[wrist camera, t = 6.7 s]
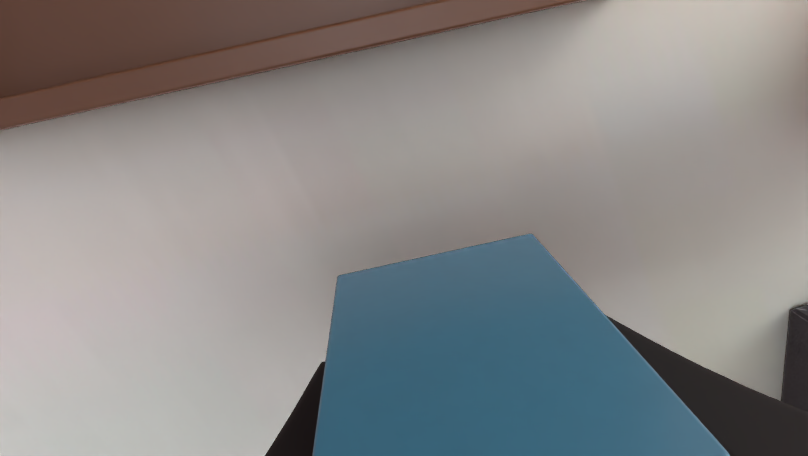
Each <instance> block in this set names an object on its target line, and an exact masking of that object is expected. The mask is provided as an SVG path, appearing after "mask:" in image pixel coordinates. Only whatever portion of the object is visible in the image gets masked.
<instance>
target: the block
mask: <svg viewBox="0 0 808 456" xmlns="http://www.w3.org/2000/svg"><path fill="white" fill-rule="evenodd" d="M312 456H730V455H729V453H728V452H727V451H726V449H725V448H724V447H723V446H722V445H721V444H720V443H719V442H718V441H717V439H716V438H715V437H714V436H713V435H712V434H711V433H710V432H709V430H708V429H707V428H706V427H705V426H704V425H703V424H702V423H701V422H700V420H699V419H698V418H697V417H696V416H695V415H694V414H693V413H692V412H691V410H690V409H689V408H688V407H687V406H686V405H685V404H684V403H683V401H682V400H681V399H680V398H679V397H678V396H677V395H676V394H675V393H674V391H673V390H672V389H671V388H670V387H669V386H668V385H667V384H666V383H665V381H664V380H663V379H662V378H661V377H660V376H659V375H658V374H657V372H656V371H655V370H654V369H653V368H652V367H651V366H650V365H649V364H648V362H647V361H646V360H645V359H644V358H643V357H642V356H641V355H640V354H639V352H638V351H637V350H636V349H635V348H634V347H633V346H632V345H631V343H630V342H629V341H628V340H627V339H626V338H625V337H624V336H623V335H622V333H621V332H620V331H619V330H618V329H617V328H616V327H615V326H614V324H613V323H612V322H611V321H610V320H609V319H608V318H607V317H606V316H605V314H604V313H603V312H602V311H601V310H600V309H599V308H598V307H597V306H596V304H595V303H594V302H593V301H592V300H591V299H590V298H589V297H588V295H587V294H586V293H585V292H584V291H583V290H582V289H581V288H580V287H579V285H578V284H577V283H576V282H575V281H574V280H573V279H572V278H571V277H570V275H569V274H568V273H567V272H566V271H565V270H564V269H563V268H562V266H561V265H560V264H559V263H558V262H557V261H556V260H555V259H554V258H553V256H552V255H551V254H550V253H549V252H548V251H547V250H546V249H545V248H544V246H543V245H542V244H541V243H540V242H539V241H538V240H537V239H536V237H535V236H534V235H533V234H526V235H522V236H517V237H512V238H508V239H503V240H499V241H494V242H490V243H485V244H480V245H476V246H471V247H467V248H462V249H458V250H453V251H448V252H444V253H439V254H435V255H430V256H425V257H421V258H416V259H412V260H407V261H403V262H398V263H393V264H389V265H384V266H380V267H375V268H371V269H366V270H361V271H357V272H352V273H348V274H343V275H339V276H338V277H337V284H336V291H335V298H334V305H333V312H332V319H331V326H330V333H329V341H328V348H327V355H326V362H325V369H324V376H323V383H322V390H321V397H320V405H319V412H318V419H317V426H316V433H315V440H314V447H313V454H312Z"/></svg>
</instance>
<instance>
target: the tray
mask: <svg viewBox="0 0 808 456" xmlns="http://www.w3.org/2000/svg"><path fill="white" fill-rule="evenodd" d="M580 1H585V0H0V130H4V129H9V128H13V127H18V126H22V125H27V124H31V123H36V122H40V121H45V120H49V119H54V118H58V117H63V116H67V115H72V114H76V113H81V112H85V111H90V110H94V109H99V108H103V107H108V106H112V105H117V104H121V103H126V102H130V101H135V100H139V99H144V98H148V97H153V96H157V95H162V94H166V93H171V92H175V91H180V90H184V89H189V88H193V87H198V86H202V85H207V84H211V83H216V82H220V81H225V80H229V79H234V78H238V77H243V76H247V75H252V74H256V73H261V72H265V71H270V70H274V69H279V68H283V67H288V66H292V65H297V64H301V63H306V62H310V61H315V60H319V59H324V58H328V57H333V56H337V55H342V54H346V53H351V52H355V51H360V50H364V49H369V48H373V47H378V46H382V45H387V44H391V43H396V42H400V41H405V40H409V39H414V38H418V37H423V36H427V35H432V34H436V33H441V32H445V31H450V30H454V29H459V28H463V27H468V26H472V25H477V24H481V23H486V22H490V21H495V20H499V19H504V18H508V17H513V16H517V15H522V14H526V13H531V12H535V11H540V10H544V9H549V8H553V7H558V6H562V5H567V4H571V3H576V2H580Z"/></svg>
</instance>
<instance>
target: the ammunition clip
mask: <svg viewBox="0 0 808 456" xmlns="http://www.w3.org/2000/svg"><path fill="white" fill-rule="evenodd" d="M781 401H782V402H784V403H787V404H789V405H792V406H794V407H797V408H799V409H802V410H804V411H807V412H808V305H806V306H802V307H798V308H795V309H792V310H790V317H789V328H788V338H787V348H786V359H785V369H784V380H783V390H782V400H781Z"/></svg>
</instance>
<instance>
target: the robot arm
mask: <svg viewBox="0 0 808 456" xmlns="http://www.w3.org/2000/svg"><path fill="white" fill-rule="evenodd" d="M605 316H606V315H605ZM606 317H607V318H608V319H609V320H610V321H611V322H612V323H613V324H614V326H615V327H616V328H617V329H618V330H619V331H620V332H621V333H622V335H623V336H624V337H625V338H626V339H627V340H628V341H629V342H630V343H631V345H632V346H633V347H634V348H635V349H636V350H637V351H638V352H639V354H640V355H641V356H642V357H643V358H644V359H645V360H646V361H647V362H648V364H649V365H650V366H651V367H652V368H653V369H654V370H655V371H656V372H657V374H658V375H659V376H660V377H661V378H662V379H663V380H664V381H665V383H666V384H667V385H668V386H669V387H670V388H671V389H672V390H673V391H674V393H675V394H676V395H677V396H678V397H679V398H680V399H681V400H682V401H683V403H684V404H685V405H686V406H687V407H688V408H689V409H690V410H691V412H692V413H693V414H694V415H695V416H696V417H697V418H698V419H699V420H700V422H701V423H702V424H703V425H704V426H705V427H706V428H707V429H708V430H709V432H710V433H711V434H712V435H713V436H714V437H715V438H716V439H717V441H718V442H719V443H720V444H721V445H722V446H723V447H724V448H725V449H726V451H727V452H728V453H729V455H730V456H808V412H807V411H804V410H802V409H799V408H797V407H794V406H792V405H789V404H787V403H784V402H782V401H779V400H776V399H774V398H771V397H769V396H767V395H764V394H762V393H759V392H757V391H755V390H752V389H750V388H748V387H746V386H743V385H741V384H739V383H737V382H735V381H732V380H730V379H728V378H726V377H724V376H722V375H720V374H717V373H715V372H713V371H711V370H709V369H707V368H704V367H702V366H700V365H698V364H696V363H694V362H692V361H690V360H688V359H686V358H684V357H682V356H680V355H678V354H676V353H674V352H672V351H671V350H669V349H667V348H665V347H663V346H661V345H659V344H657V343H655V342H653V341H652V340H650V339H648V338H646V337H644V336H642V335H641V334H639V333H637V332H635V331H633V330H631V329H630V328H628V327H626V326H624V325H622V324H621V323H619V322H617V321H615V320H613V319H612V318H610V317H608V316H606ZM325 362H326V361H325ZM325 362H322V363H321V364H320V366H319V367H318V369H317V370H316V372H315V374H314V375H313V377H312V379H311V381H310V382H309V384H308V386H307V388H306V389H305V391H304V393H303V395H302V396H301V398H300V400H299V402H298V403H297V405H296V407H295V408H294V410H293V412H292V413H291V415H290V417H289V418H288V420H287V421H286V423H285V425H284V426H283V428H282V430H281V431H280V433H279V434H278V436H277V438H276V439H275V441H274V442H273V444H272V446H271V447H270V449H269V450H268V452H267V453H266V455H265V456H312V454H313V447H314V440H315V433H316V426H317V419H318V412H319V405H320V397H321V390H322V383H323V376H324V369H325Z"/></svg>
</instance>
